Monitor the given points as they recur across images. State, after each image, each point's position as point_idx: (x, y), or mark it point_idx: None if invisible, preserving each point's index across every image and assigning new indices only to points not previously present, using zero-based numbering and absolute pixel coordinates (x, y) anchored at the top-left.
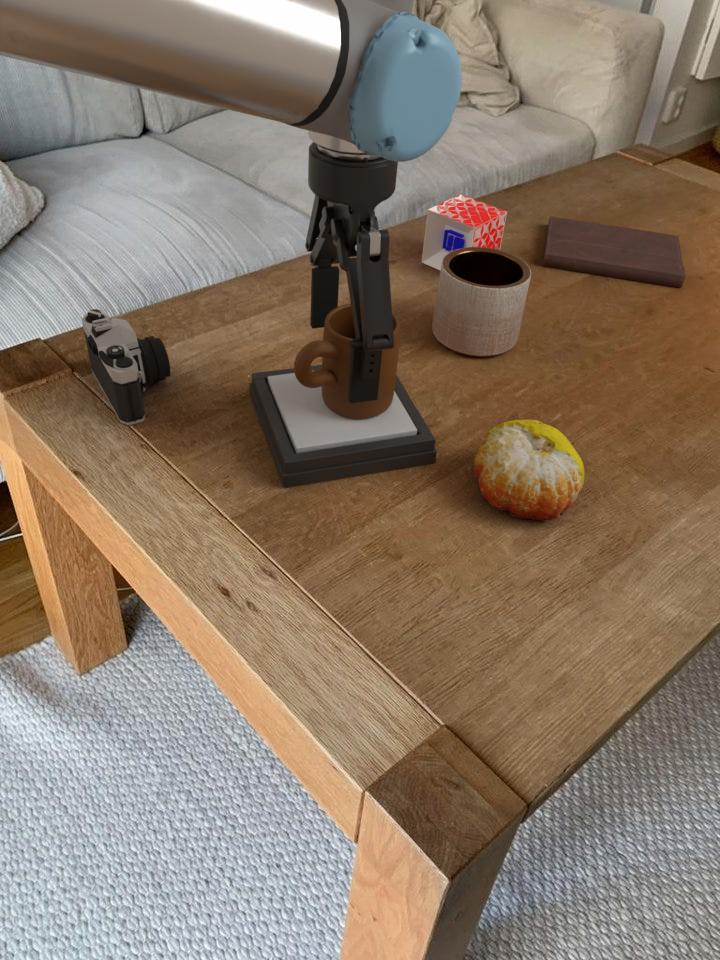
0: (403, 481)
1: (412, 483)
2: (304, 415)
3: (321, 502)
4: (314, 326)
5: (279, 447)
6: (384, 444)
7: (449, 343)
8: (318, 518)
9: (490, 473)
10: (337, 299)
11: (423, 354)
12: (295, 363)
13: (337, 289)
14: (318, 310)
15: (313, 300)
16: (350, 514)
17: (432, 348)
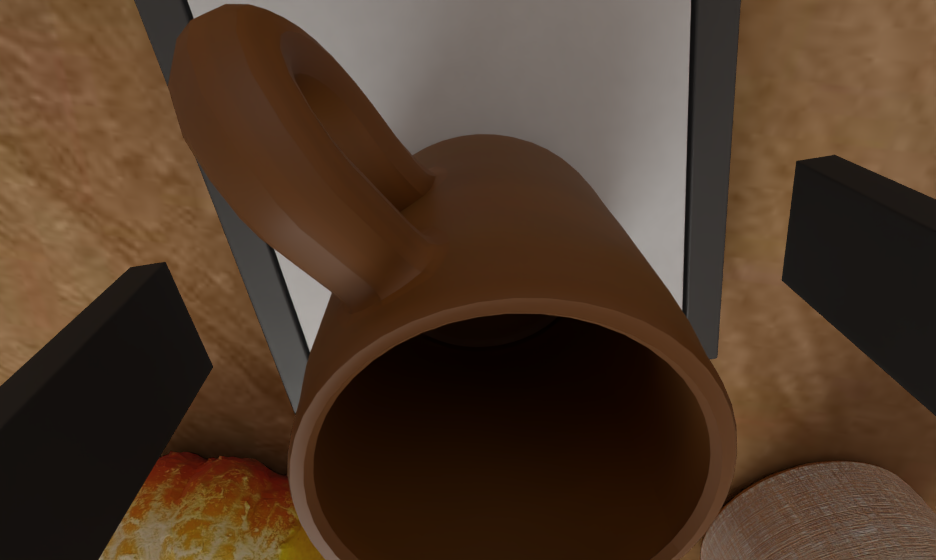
0: (232, 298)
1: (227, 316)
2: (395, 49)
3: (105, 63)
4: (800, 176)
5: None
6: (262, 295)
7: (767, 492)
8: (29, 44)
9: (126, 517)
10: (879, 364)
11: (765, 421)
12: (208, 14)
13: (933, 405)
14: (859, 231)
15: (919, 229)
16: (70, 144)
17: (784, 443)
